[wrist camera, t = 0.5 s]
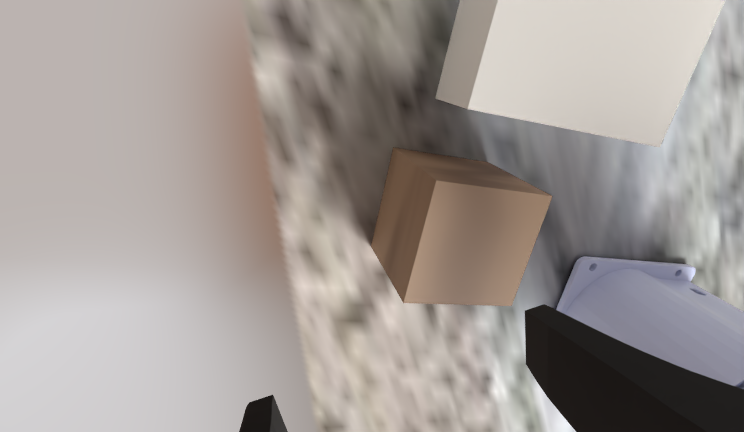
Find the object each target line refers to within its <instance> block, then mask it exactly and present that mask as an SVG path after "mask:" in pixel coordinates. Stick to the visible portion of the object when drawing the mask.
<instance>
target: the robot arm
mask: <svg viewBox="0 0 744 432" xmlns="http://www.w3.org/2000/svg"><path fill="white" fill-rule="evenodd" d="M590 265H591V266H590ZM694 274H695V268H694V267H693V266H691V265H688V264H676V263H664V262H651V261H638V260H625V259H613V258H600V257H587V256H584V257H581V258H579V259H578V260H577V261H576V263H575V265H574V268H573V270H572V272H571V275H570V277H569V280H568V282H567V284H566V287H565V289H564V292H563V294H562V296H561V299H560V301H559V304H558V306H557V308H556V310H555V309H553V308H551V307H549V306H547V305H541V306H538V307H535V308H532V309H529V310H526V311H525V335H526V365H527V366H528V368H529V370H530V371H531V373H532V374H533V376H534V377H535V379H536V381H537V382H538V384H539V385H540V387H541V388H542V389H543V391H544V392H545V394H546V395H547V397H548V398H549V399H550V401H551V402H552V403H553V404H554V405H555V407H556V408H557V409H558V410H559V411H560V413H561V414H562V415H563V416H564V418H565V419H566V420H567V421H568V422H569V424H570V425H571V426H572V427H573V428H574V429H575V431H576V432H744V312H743V311H742V310H740V309H738V308H736V307H734V306H733V305H731V304H729V303H727V302H725V301H724V300H722V299H720V298H718V297H716V296H715V295H713V294H711V293H709V292H707V291H706V290H704V289H702V288H700V287H698V286H697V285H695V284H693V283H691V280H692V278H693V276H694ZM239 432H287V429H286V427H285V424H284V422H283V419H282V416H281V414H280V411H279V409H278V406H277V404H276V401H275V399H274V396H273V395H271V396H268V397H265V398H262V399H259V400H256V401H253V402H250V403H249V404H248V405H247V407H246V410H245V414H244V417H243V421H242V424H241V428H240V431H239Z"/></svg>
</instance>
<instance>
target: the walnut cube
mask: <svg viewBox="0 0 744 432" xmlns="http://www.w3.org/2000/svg"><path fill="white" fill-rule="evenodd" d="M551 199H552V196H551V195H550V194H548V193H546V192H544V191H542V190H540V189H538V188H536V187H534V186H532V185H530V184H529V183H527V182H525V181H523V180H521V179H519V178H517V177H515V176H513V175H511V174H509V173H508V172H506V171H504V170H502V169H500V168H498V167H496V166H494V165H492V164H490V163H488V162H484V161H477V160H471V159H464V158H458V157H452V156H445V155H439V154H432V153H426V152H419V151H413V150H407V149H400V148H394V147H393V151H392V155H391V160H390V164H389V169H388V173H387V177H386V182H385V186H384V191H383V195H382V200H381V204H380V209H379V213H378V218H377V222H376V226H375V231H374V235H373V240H372V244H371V247H372V249H373V251H374V252H375V254H376V256H377V258H378V259H379V261H380V263H381V265H382V266H383V268H384V270H385V271H386V273H387V275H388V277H389V278H390V280H391V282H392V284H393V285H394V287H395V289H396V291H397V292H398V294H399V296H400V298H401V299H402V301H403V303H425V304H460V305H495V306H512V304H513V301H514V298H515V296H516V293H517V290H518V287H519V285H520V282H521V279H522V277H523V274H524V271H525V269H526V266H527V263H528V261H529V258H530V255H531V253H532V250H533V247H534V245H535V242H536V239H537V236H538V234H539V231H540V228H541V226H542V223H543V220H544V218H545V215H546V212H547V210H548V207H549V204H550V202H551Z"/></svg>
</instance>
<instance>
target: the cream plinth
mask: <svg viewBox="0 0 744 432" xmlns="http://www.w3.org/2000/svg"><path fill="white" fill-rule="evenodd" d="M724 3H725V0H460V2H459V6H458V10H457V14H456V18H455V22H454V26H453V30H452V34H451V38H450V42H449V46H448V50H447V54H446V58H445V62H444V66H443V70H442V74H441V78H440V82H439V86H438V90H437V94H436V98H435V99H438V100H441V101H444V102H447V103H450V104H453V105H456V106H460V107H463V108H466V109H469V110H474V111H479V112H484V113H489V114H494V115H499V116H505V117H510V118H515V119H520V120H525V121H530V122H535V123H540V124H545V125H550V126H555V127H560V128H565V129H570V130H575V131H580V132H585V133H590V134H595V135H600V136H605V137H610V138H615V139H620V140H625V141H630V142H635V143H640V144H645V145H650V146H655V147H660V146H661V144H662V141H663V139H664V137H665V135H666V132H667V130H668V128H669V126H670V123H671V121H672V119H673V117H674V114H675V112H676V110H677V108H678V106H679V103H680V101H681V99H682V97H683V94H684V92H685V90H686V88H687V85H688V83H689V81H690V79H691V76H692V74H693V72H694V70H695V67H696V65H697V63H698V61H699V59H700V56H701V54H702V52H703V50H704V47H705V45H706V43H707V41H708V38H709V36H710V34H711V32H712V29H713V27H714V25H715V23H716V21H717V18H718V16H719V14H720V12H721V9H722V7H723V5H724Z"/></svg>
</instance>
